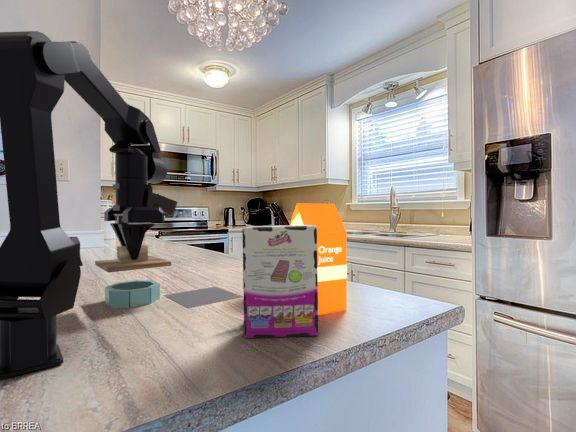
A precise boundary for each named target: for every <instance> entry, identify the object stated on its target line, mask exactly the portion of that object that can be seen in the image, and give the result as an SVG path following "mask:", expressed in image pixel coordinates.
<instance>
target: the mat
mask: <svg viewBox="0 0 576 432" xmlns="http://www.w3.org/2000/svg"><path fill="white" fill-rule="evenodd" d="M163 296H164V297H165V298H168V299H170V300H171V301H173V302H175V303H177V304H179V305H181V306H183V307H185V308H186V309H191V308H195V307H197V308H198V307H202V306H206V305H210V304H216V303H221V302H226V301H230V300H235V299H241V298H244V295H240V294H238V293H234V292H232V291H229V290H226V289H223V288H220V287H218V286H211V287H204V288H200V289H193V290H187V291H182V292H181V291H180V292H176V293H175V292H174V293H170V294H164V295H163Z"/></svg>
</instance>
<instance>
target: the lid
mask: <svg viewBox="0 0 576 432" xmlns="http://www.w3.org/2000/svg"><path fill="white" fill-rule="evenodd" d="M116 250H117V252H116V258H113V259H105V260H104V259H103V260H95V261H94V262H95V263H94V265H95V266H96V267H98V268H99V269H102V270H104V272H107V273H109V274H110V273H115V272H116V273H118V272H126V271H135V270H144V269H146V270H147V269H154V268H163V267H164V268H165V267H171V266H172V261H170V260H167V259H164V258H159V257H156V256H155V255H154V256H153V255H150V256H149V245H146V244H142V246H141V249H140V253H139V256H138V259H136V260H132V259H131V257H130V255H129V252H128V250H127V247H126V246H121V245H119V246H116Z"/></svg>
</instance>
